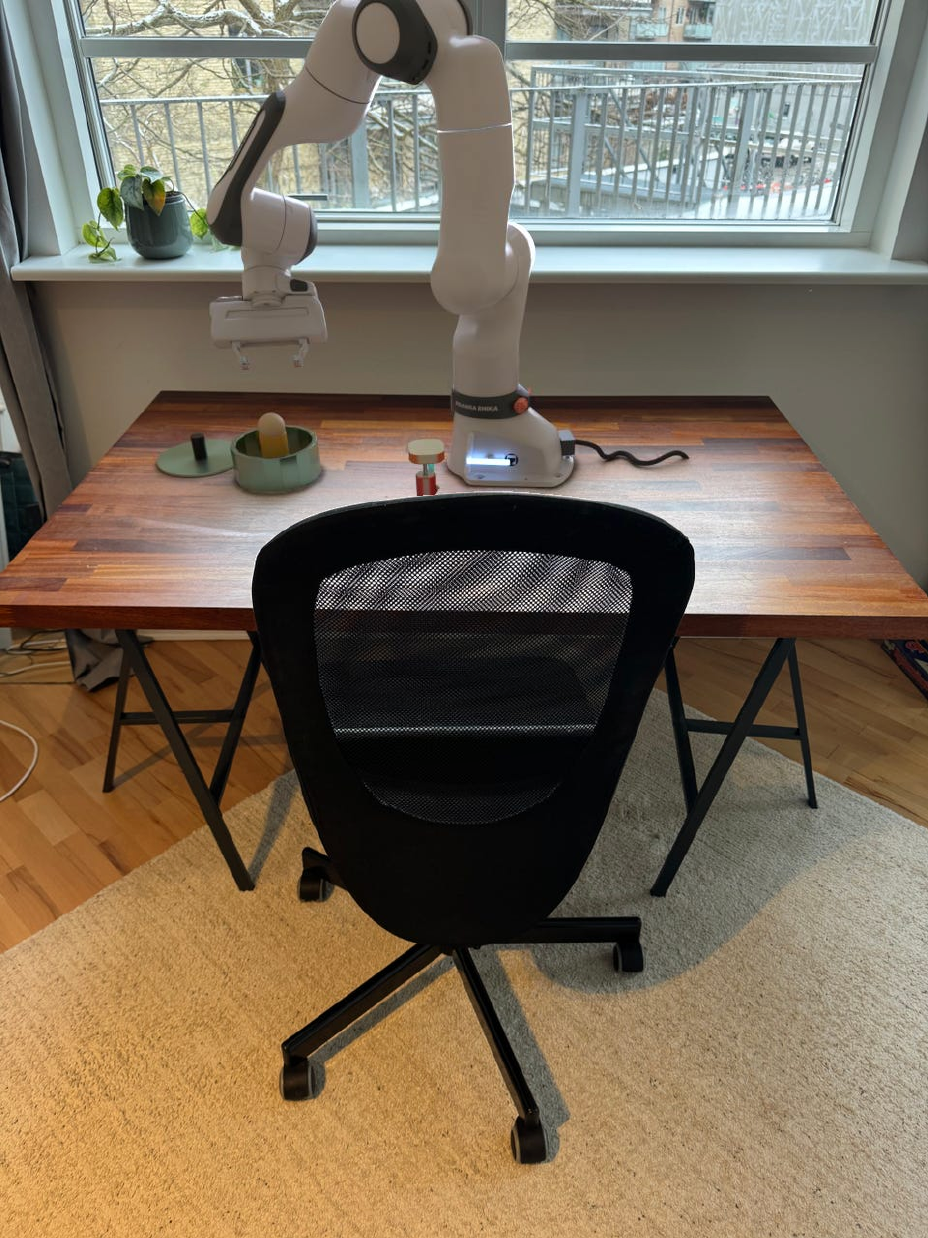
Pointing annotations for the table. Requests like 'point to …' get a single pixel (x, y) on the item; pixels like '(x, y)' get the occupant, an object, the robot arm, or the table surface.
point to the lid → (197, 457)
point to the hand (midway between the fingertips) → (271, 366)
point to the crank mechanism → (426, 454)
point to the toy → (273, 436)
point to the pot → (276, 461)
